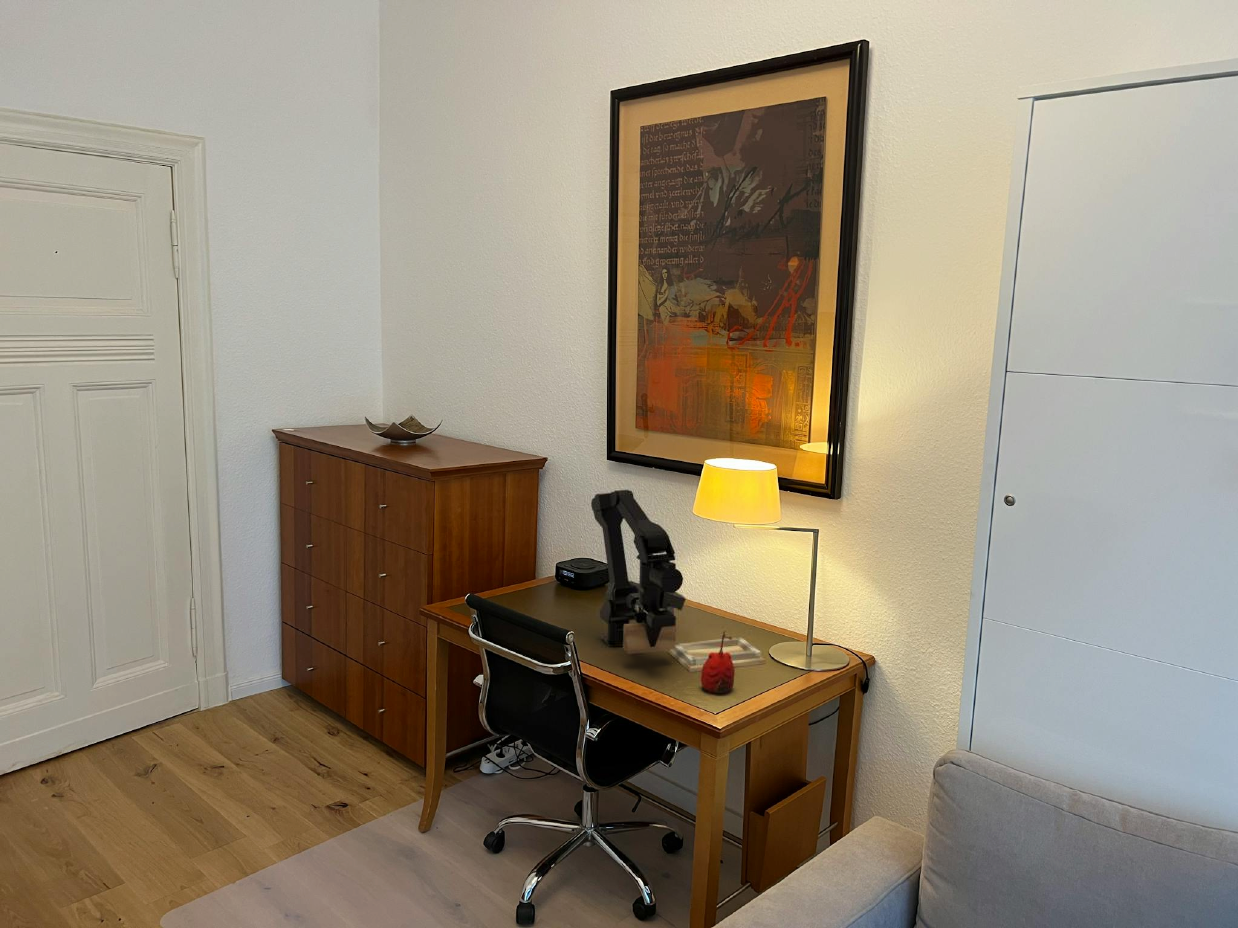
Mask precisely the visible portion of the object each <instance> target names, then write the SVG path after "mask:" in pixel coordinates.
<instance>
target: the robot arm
mask: <svg viewBox="0 0 1238 928" xmlns="http://www.w3.org/2000/svg"><path fill="white" fill-rule="evenodd" d="M594 495H595V496H594V497H593V498H592V499H591V502H590V506H591V507H590V508H591V510H592V512H593V515H594V519H595V521H596V522H597V523H598V524H599V526H600V527H601V528H602V535H603V540H604V541H603V543H604V550H605V557H606V565H607V572H608V579H609V585H608V587H607V589H606V592H605V595H604V596H605V597H604V598H605V600H604V601H605V602H604V603H603V605H602V606H601V607H600V609H599V616H600V617H599V619H600V620H602V621H603V622H605V623H606V624H607V625H606V626H607V627H606V629H607V630H606V632H607V633H606V634H607V635H606V636H603V637H602V640H603V641H604V642H605V643H606V644H607V645H608V646H609V647H610V648H612V647H614V648H615V647H623V633H624V624H631V623H630V621H635V622H636V623H643V624H644V628H645V631H646V634H647V638H648V641H649V644H650V647H655V645H656V642H657V639H658V637H659V634H660V631H661V629H662V627H669V626H675V625H676V626H677V616H676V615H673V614H672V613H671V612H670V611H668V610H660V608H662V609H666V608H667V606H670V607H673V608H674V609H677V611H683V608H684V605H685V603H686V600H687V597H685V596H684V595H682V594H681V593H679V592H677V591H679V590H680V588H681V587H682V586H683V582H684V577H683V574H682V572H681V570H679V569H677V568H676V567H677V565H676V563H675V562H673V561H676V557H675V556H676V555H675V553H676V552H675V550H674V547H673V545H672V542H671V539H670V535H669V534H668V532H667V531H666V530H665V529H664V528H663V527H662V526H661V525H660V524H657V523H655V522H653V521H651V520H650V518H649V517H648V515H647V514H646V512H644V510H643V508H642V507H641V505H640V504H639V503H638V502H637V500H636V498H635V495H634V493H633V491H632V490H630V489H622V490H621V489H619V490H614V491H611V492H605V493H603V492H602V493H596V494H594ZM623 520H625V522H626V524H627V525H628V526H629V528H630V530H631V531H632V533H633V535H634V538H633V544H634V546H635V548H636V551H637V553H638V554H637V556H636V559H637V560H639V577H638V578H639V581H638V582H636V583H637V584H636V586H632V584H631V583H630V582H629V581H630V580H629V575H628V568H627V567H628V566H627V561H626V560H627V559H626V555H625V554H626V553H625V547H624V538H623V531H622V523H623ZM637 588H638V589H639V593H638V592H637Z"/></svg>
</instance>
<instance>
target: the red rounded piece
mask: <svg viewBox="0 0 1238 928" xmlns="http://www.w3.org/2000/svg"><path fill="white" fill-rule="evenodd" d="M726 632H727V631H726V630H723V632H721V631H719V634H720V635H721V639H722V643H721V644H720V647H721V649H720V651H719V653H710V654H709V658H708V659H707V660H706V662H705V663H704V664H703V668H702V671H700V672H701V675H700V682H701V685H702V688H703V689H704V690H706V691H707V692H709V693H712V694H718V695H719V694H726V693H728V692H729V691H731V690H732V689H733V687H734V683H735V674H736V673H735V672H736V671H735V667H734V666H733V662H732V660H731V655H730V654H729V653H728V652H726V653H723V650H722V648H723V641H724V639H731V640H732V638H733V636H732V635H730V636H729V635H726V634H725V633H726Z"/></svg>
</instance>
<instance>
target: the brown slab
mask: <svg viewBox="0 0 1238 928" xmlns="http://www.w3.org/2000/svg"><path fill="white" fill-rule="evenodd" d="M676 637H677V624H676V625H675V626H669V627H662V629H661V631H660V634H659V637H658V639H657V642H656V645H655V647H650V644H649V641H648V638H647V634H646V631H645V628H644V624H643V623H637V622H636V623H635V622H634V623H630V624H624V633H623V646H622V649H623V650H624V651H625V652H626V653H627V654H629V655H632V654H641V653H650V652H661V651H668V650H672V649H675V644H677V643H676V642H677V641H676Z"/></svg>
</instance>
